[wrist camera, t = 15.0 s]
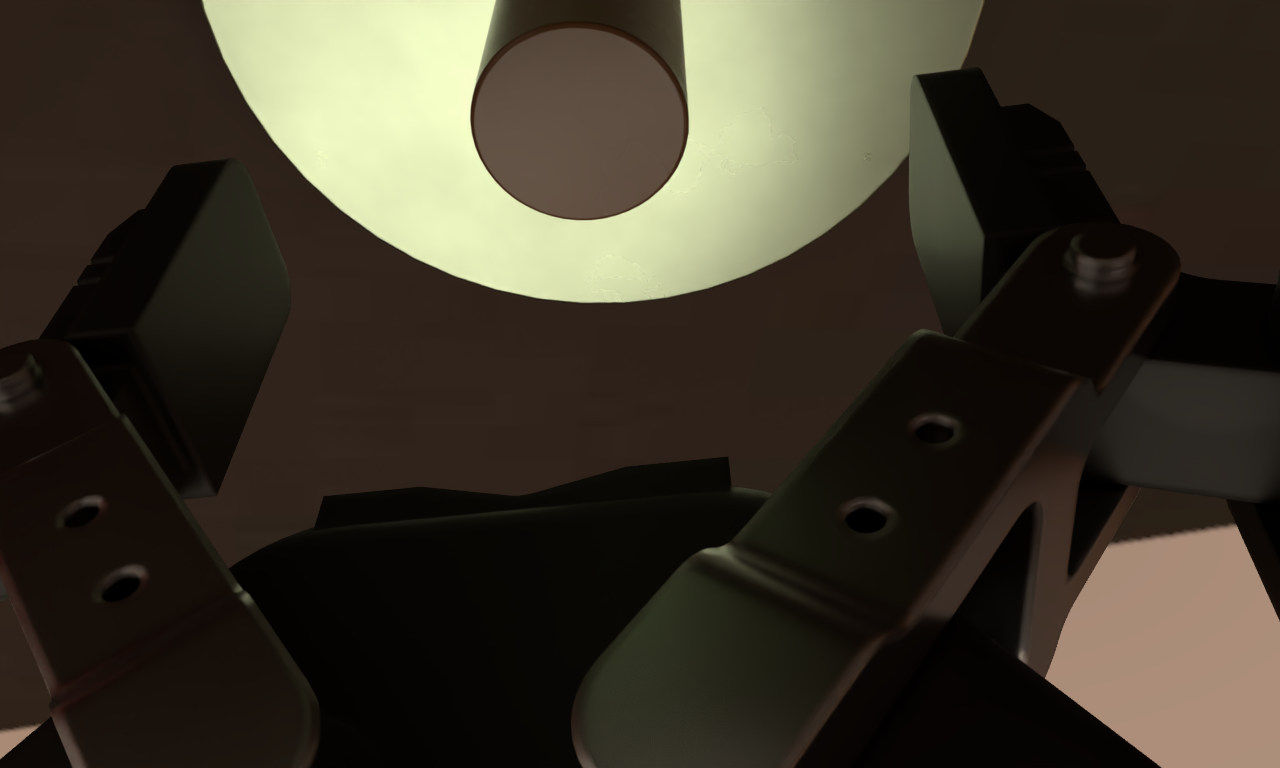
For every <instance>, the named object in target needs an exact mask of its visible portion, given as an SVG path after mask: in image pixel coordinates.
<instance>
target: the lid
mask: <svg viewBox="0 0 1280 768" xmlns="http://www.w3.org/2000/svg"><path fill="white" fill-rule="evenodd" d="M200 3H201V7H202V10H203V13H204V15H205V18H206V20H207V23H208V26H209V28H210V31H211V33H212V36H213V38H214V41H215V44H216V46H217V49H218V51H219V54H220V56H221V59H222V61H223V63H224V64H225V66H226V68H227V70H228V72H229V74H230V76H231V78H232V79H233V81H234V83H235V85H236V87H237V89H238V91H239V93H240V94H241V96H242V98H243V100H244V102H245V103H246V105H247V106H248V108H249V109H250V111H251V112H252V114H253V115H254V116H255V118H256V119H257V121H258V122H259V124H260V125H261V127H262V128H263V129H264V131H265V132H266V134H267V135H268V137H269V138H270V140H271V141H272V142H273V144H274V145H275V146H276V147H277V148H278V149H279V150H280V152H281V153H282V154H283V155H284V156H285V157H286V158H287V160H288V161H289V162H290V163H291V164H292V165H293V166H294V168H295V169H296V170H297V171H298V172H299V173H300V174H301V176H302V177H303V178H304V179H305V180H306V181H307V182H308V183H310V184H311V185H312V186H313V187H314V188H315V189H316V190H317V191H318V192H319V193H320V194H322V195H323V196H324V197H325V198H326V199H327V200H328V201H329V202H330V203H331V204H332V205H334V206H335V207H336V208H337V209H338V210H339V211H341V212H342V213H343V214H345V215H346V216H347V217H349V218H350V219H351V220H353V221H354V222H356V223H357V224H358V225H360V226H361V227H362V228H364V229H365V230H366V231H368V232H369V233H371V234H372V235H373V236H375V237H376V238H378V239H380V240H381V241H383V242H385V243H387V244H388V245H390V246H392V247H394V248H395V249H397V250H399V251H400V252H402V253H404V254H406V255H407V256H409V257H411V258H413V259H414V260H416V261H419V262H421V263H423V264H426V265H428V266H430V267H432V268H435V269H437V270H439V271H441V272H444V273H446V274H448V275H450V276H453V277H455V278H458V279H461V280H464V281H467V282H470V283H473V284H477V285H480V286H483V287H486V288H489V289H492V290H495V291H499V292H504V293H509V294H514V295H519V296H523V297H528V298H533V299H538V300H547V301H557V302H567V303H577V304H626V303H635V302H643V301H652V300H661V299H668V298H673V297H677V296H682V295H686V294H690V293H695V292H699V291H704V290H708V289H711V288H714V287H717V286H720V285H723V284H726V283H729V282H732V281H735V280H737V279H740V278H743V277H746V276H749V275H751V274H753V273H756V272H758V271H760V270H762V269H764V268H766V267H768V266H770V265H773V264H775V263H777V262H779V261H781V260H783V259H785V258H787V257H789V256H791V255H793V254H794V253H796V252H797V251H799V250H801V249H802V248H804V247H806V246H807V245H809V244H810V243H812V242H814V241H815V240H817V239H819V238H820V237H822V236H823V235H825V234H827V233H828V232H829V231H830V230H832V229H833V228H834V227H835V226H837V225H838V224H839V223H841V222H842V221H843V220H844V219H846V218H847V217H848V216H849V215H851V214H852V213H853V212H855V211H856V210H857V209H858V208H860V207H861V206H862V205H863V204H864V203H865V202H866V201H867V200H868V199H869V198H870V197H871V196H872V195H873V194H874V193H875V192H876V191H877V190H878V189H879V188H880V187H881V186H882V185H883V184H884V183H885V182H886V181H887V180H888V179H889V178H890V177H891V176H892V175H893V174H894V173H895V172H896V171H897V169H898V168H899V167H900V166H901V164H902V163H903V162H904V161H905V159H906V158H907V157H908V156H909V144H910V89H911V82H912V78H913V76H914V75H918V74H926V73H934V72H942V71H950V70H959V69H961V68H962V66H963V63H964V61H965V59H966V57H967V55H968V53H969V50H970V47H971V44H972V41H973V38H974V35H975V31H976V28H977V25H978V22H979V19H980V16H981V13H982V9H983V6H984V3H985V0H200Z"/></svg>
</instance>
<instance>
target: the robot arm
mask: <svg viewBox="0 0 1280 768" xmlns="http://www.w3.org/2000/svg"><path fill="white" fill-rule="evenodd" d="M909 208H910V220H911V228H912V234H913V240H914V244H915V248H916V251H917V254H918V257H919V260H920V263H921V266H922V269H923V272H924V275H925V278H926V281H927V284H928V287H929V290H930V293H931V296H932V299H933V302H934V305H935V308H936V311H937V314H938V317H939V320H940V323H941V326H942V329H943V332H944V334H941V333H937V332H934V331H931V330H927V329H921V330H918V331H916V332H915V333H914V334H912V335H911V336H910V337H909V338H908V339H907V340H906V341H905V342H904V344H903V345H902V346H901V347H900V348H899V349H898V350H897V352H896V353H895V354H894V355H893V356H892V357H891V358H890V360H889V361H888V362H887V363H886V364H885V365H884V366H883V368H882V369H881V370H880V371H879V372H878V373H877V375H876V376H875V377H874V378H873V379H872V380H871V381H870V383H869V384H868V385H867V386H866V387H865V388H864V389H863V391H862V392H861V393H860V394H859V395H858V396H857V398H856V399H855V400H854V401H853V402H852V403H851V404H850V406H849V407H848V408H847V409H846V410H845V411H844V412H843V414H842V415H841V416H840V417H839V418H838V419H837V421H836V422H835V423H834V424H833V425H832V426H831V427H830V429H829V430H828V431H827V432H826V433H825V434H824V435H823V437H822V438H821V439H820V440H819V441H818V442H817V444H816V445H815V446H814V447H813V448H812V449H811V450H810V452H809V453H808V454H807V455H806V456H805V457H804V458H803V460H802V461H801V462H800V463H799V464H798V465H797V467H796V468H795V469H794V470H793V471H792V472H791V473H790V475H789V476H788V477H787V478H786V479H785V480H784V481H783V483H782V484H781V485H780V486H779V487H778V488H777V490H776V491H775V492H774V493H770V492H765V491H760V490H755V489H750V488H742V487H733V486H732V484H731V476H730V468H729V459H728V457H721V458H711V459H701V460H691V461H680V462H670V463H660V464H650V465H639V466H629V467H624V468H620V469H617V470H613V471H610V472H606V473H603V474H599V475H596V476H592V477H589V478H585V479H581V480H578V481H574V482H571V483H567V484H564V485H560V486H557V487H553V488H550V489H546V490H543V491H539V492H535V493H532V494H527V495H521V496H509V495H498V494H488V493H478V492H468V491H458V490H448V489H437V488H427V487H414V488H404V489H394V490H384V491H373V492H363V493H353V494H343V495H332V496H324V497H323V501H322V504H321V507H320V511H319V514H318V517H317V521H316V524H315V527H314V528H310V529H307V530H304V531H301V532H299V533H296V534H294V535H291V536H288V537H286V538H283V539H281V540H279V541H277V542H274V543H272V544H270V545H268V546H266V547H264V548H262V549H260V550H258V551H256V552H255V553H253V554H251V555H249V556H248V557H246V558H244V559H243V560H241V561H239V562H238V563H236V564H235V565H233V566H232V567H230V568H229V569H228V567H227V566H226V564H225V563H224V561H223V560H222V558H221V557H220V555H219V554H218V552H217V551H216V549H215V548H214V546H213V545H212V543H211V542H210V540H209V539H208V537H207V536H206V534H205V533H204V531H203V530H202V528H201V527H200V525H199V524H198V522H197V521H196V519H195V518H194V516H193V515H192V513H191V512H190V510H189V509H188V507H187V506H186V504H185V503H184V501H183V500H182V499H191V498H202V497H212V496H217V494H218V491H219V489H220V486H221V484H222V481H223V479H224V476H225V474H226V471H227V469H228V466H229V464H230V461H231V459H232V456H233V454H234V451H235V449H236V446H237V444H238V441H239V439H240V436H241V434H242V431H243V429H244V426H245V424H246V421H247V419H248V416H249V414H250V411H251V409H252V406H253V404H254V401H255V399H256V396H257V394H258V391H259V389H260V386H261V383H262V381H263V378H264V376H265V373H266V371H267V368H268V366H269V363H270V361H271V358H272V356H273V353H274V351H275V348H276V346H277V343H278V341H279V338H280V336H281V333H282V331H283V328H284V326H285V323H286V321H287V318H288V315H289V311H290V304H291V291H290V282H289V277H288V273H287V269H286V266H285V263H284V260H283V258H282V255H281V253H280V250H279V248H278V245H277V242H276V240H275V237H274V235H273V232H272V230H271V227H270V224H269V222H268V219H267V217H266V214H265V212H264V209H263V206H262V204H261V201H260V199H259V196H258V194H257V191H256V188H255V186H254V183H253V181H252V178H251V176H250V174H249V172H248V170H247V168H246V167H245V166H244V164H243V163H242V162H241V161H240V160H238V159H236V158H230V159H222V160H214V161H206V162H198V163H190V164H182V165H175V166H173V167H172V168H171V169H170V170H169V172H168V173H167V175H166V177H165V178H164V180H163V181H162V183H161V184H160V186H159V188H158V189H157V191H156V192H155V194H154V195H153V197H152V199H151V200H150V202H149V203H148V205H147V206H146V208H145V209H141V210H138V211H137V212H136V213H134V214H133V215H132V216H131V217H129V218H128V219H127V220H125V221H124V222H123V223H122V224H120V225H119V226H118V227H117V228H115V229H114V230H113V231H112V232H110V233H109V234H108V235H107V236H106V238H105V239H104V241H103V242H102V244H101V245H100V247H99V248H98V250H97V251H96V253H95V255H94V256H93V258H92V259H91V262H92V265H87V267H86V268H85V270H84V271H83V273H82V274H81V276H80V277H79V279H78V280H77V282H78V286H73V288H72V289H71V291H70V292H69V294H68V295H67V297H66V298H65V300H64V301H63V303H62V304H61V306H60V307H59V309H58V310H57V312H56V313H55V315H54V316H53V318H52V319H51V321H50V322H49V324H48V326H47V327H46V329H45V330H44V332H43V333H42V335H41V336H40V338H39V339H36V340H29V341H25V342H21V343H17V344H14V345H11V346H7V347H5V348H2V349H0V601H2V600H5V599H8V598H10V600H11V602H12V605H13V607H14V610H15V612H16V614H17V617H18V619H19V621H20V624H21V626H22V628H23V631H24V633H25V635H26V638H27V640H28V642H29V645H30V647H31V649H32V652H33V654H34V657H35V659H36V661H37V664H38V666H39V668H40V671H41V673H42V675H43V678H44V680H45V682H46V685H47V687H48V690H49V692H50V695H51V699H52V702H51V703H50V704H49V708H50V713H51V717H50V718H49V719H48V720H46V721H45V722H44V723H43V724H42V725H41V726H39V727H38V728H37V729H36V730H35V731H33V732H32V733H31V734H30V735H29V736H27V737H26V738H25V739H24V740H23V741H22V742H20V743H19V744H18V745H17V746H16V747H14V748H13V749H12V750H11V751H10V752H8V753H7V754H6V755H5V756H4V757H2V758H1V759H0V768H1161V767H1160V766H1159V765H1157V764H1156V763H1155V762H1153V761H1152V760H1151V759H1149V758H1148V757H1147V756H1146V755H1144V754H1143V753H1142V752H1140V751H1139V750H1138V749H1136V748H1135V747H1134V746H1133V745H1131V744H1130V743H1128V742H1127V741H1126V740H1125V739H1123V738H1122V737H1121V736H1119V735H1118V734H1117V733H1115V732H1114V731H1113V730H1111V729H1110V728H1109V727H1108V726H1106V725H1105V724H1103V723H1102V722H1101V721H1100V720H1098V719H1097V718H1096V717H1094V716H1093V715H1091V714H1090V713H1089V712H1088V711H1087V710H1085V709H1084V708H1083V707H1081V706H1080V705H1079V704H1077V703H1076V702H1075V701H1074V700H1072V699H1071V698H1069V697H1068V696H1067V695H1066V694H1064V693H1063V692H1062V691H1060V690H1059V689H1058V688H1056V687H1055V686H1054V685H1052V684H1051V683H1050V682H1048V681H1047V680H1046V679H1045V677H1046V674H1047V672H1048V669H1049V667H1050V664H1051V661H1052V659H1053V656H1054V653H1055V650H1056V647H1057V644H1058V640H1059V637H1060V634H1061V631H1062V628H1063V625H1064V623H1065V620H1066V618H1067V616H1068V613H1069V611H1070V609H1071V607H1072V606H1073V604H1074V602H1075V600H1076V598H1077V597H1078V595H1079V593H1080V592H1081V590H1082V588H1083V587H1084V585H1085V583H1086V581H1087V580H1088V578H1089V576H1090V575H1091V573H1092V571H1093V570H1094V568H1095V566H1096V564H1097V563H1098V561H1099V559H1100V558H1101V556H1102V554H1103V552H1104V551H1105V549H1106V547H1107V546H1108V544H1109V542H1110V540H1111V539H1112V537H1113V535H1114V534H1115V532H1116V530H1117V529H1118V527H1119V525H1120V523H1121V522H1122V520H1123V518H1124V517H1125V515H1126V513H1127V511H1128V510H1129V508H1130V506H1131V505H1132V503H1133V501H1134V500H1135V498H1136V496H1137V494H1138V492H1139V490H1140V487H1144V488H1152V489H1159V490H1166V491H1173V492H1180V493H1188V494H1195V495H1202V496H1209V497H1216V498H1223V499H1226V501H1227V504H1228V507H1229V509H1230V511H1231V514H1232V516H1233V518H1234V520H1235V523H1236V525H1237V527H1238V529H1239V531H1240V534H1241V536H1242V538H1243V540H1244V543H1245V545H1246V547H1247V549H1248V552H1249V554H1250V556H1251V558H1252V560H1253V562H1254V565H1255V567H1256V569H1257V571H1258V574H1259V576H1260V578H1261V580H1262V583H1263V585H1264V587H1265V589H1266V592H1267V594H1268V596H1269V598H1270V600H1271V603H1272V605H1273V607H1274V609H1275V612H1276V614H1277V616H1278V618H1279V620H1280V272H1279V276H1278V280H1277V284H1276V285H1275V284H1263V283H1251V282H1238V281H1226V280H1216V279H1208V278H1202V277H1197V276H1192V275H1189V274H1185V273H1182V272H1181V262H1180V258H1179V256H1178V254H1177V252H1176V251H1175V250H1174V248H1173V247H1172V246H1171V245H1170V244H1169V243H1167V242H1166V241H1165V240H1163V239H1162V238H1160V237H1158V236H1157V235H1155V234H1153V233H1151V232H1148V231H1146V230H1143V229H1141V228H1137V227H1134V226H1130V225H1125V224H1121V223H1120V222H1119V220H1118V218H1117V217H1116V215H1115V213H1114V212H1113V210H1112V208H1111V207H1110V205H1109V203H1108V202H1107V200H1106V198H1105V197H1104V195H1103V193H1102V192H1101V190H1100V188H1099V187H1098V185H1097V183H1096V182H1095V180H1094V178H1093V177H1092V175H1091V173H1090V172H1089V171H1086V165H1085V163H1084V162H1083V160H1082V158H1081V157H1080V155H1079V153H1078V151H1074V145H1073V143H1072V141H1071V140H1070V138H1069V136H1068V135H1067V133H1066V131H1065V130H1064V128H1063V126H1062V125H1061V123H1060V122H1059V121H1057V120H1055V119H1054V118H1052V117H1050V116H1049V115H1047V114H1045V113H1044V112H1042V111H1040V110H1039V109H1037V108H1035V107H1034V106H1032V105H1030V104H1021V105H1013V106H1004V107H1001V106H1000V105H999V103H998V101H997V99H996V97H995V95H994V93H993V91H992V89H991V87H990V85H989V84H988V82H987V80H986V78H985V76H984V74H983V72H982V70H981V69H980V68H979V67H975V68H967V69H959V70H950V71H942V72H934V73H926V74H918V75H914V76H913V78H912V82H911V89H910V144H909Z"/></svg>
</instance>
